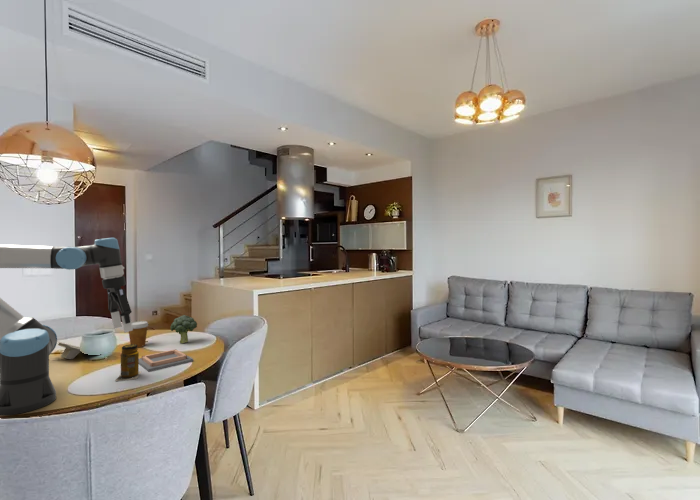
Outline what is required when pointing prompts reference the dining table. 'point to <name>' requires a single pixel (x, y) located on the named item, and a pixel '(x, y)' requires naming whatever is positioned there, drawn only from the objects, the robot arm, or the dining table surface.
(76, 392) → the dining table surface
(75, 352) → the grey angled piece
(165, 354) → the holder
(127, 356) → the condiment
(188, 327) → the vegetable
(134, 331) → the disposable coffee cup
